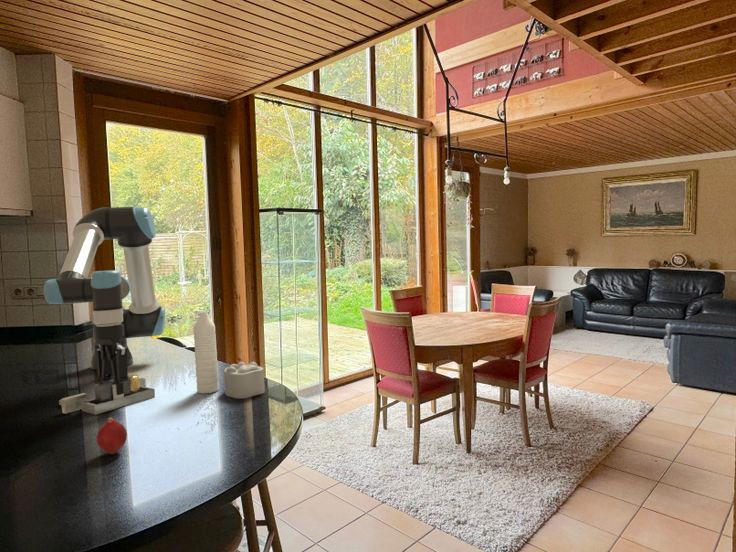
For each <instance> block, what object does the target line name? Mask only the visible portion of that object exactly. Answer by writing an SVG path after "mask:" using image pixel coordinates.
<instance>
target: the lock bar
mask: <svg viewBox="0 0 736 552" xmlns="http://www.w3.org/2000/svg"><path fill="white" fill-rule="evenodd" d="M139 379H140V376H139V374H130V375H129V374H128V380H127V381H125V382H123V391H124V397H125V396H128V395H132V394H135V393H139V392H140V387H139ZM112 383H114V380H113V379H111V381H107V382H103V381H102V382H99V383H96V384H94V395H95V396H94V397H95V398H96V404H100V403H103V402H107V401H110V400H113V388H112Z"/></svg>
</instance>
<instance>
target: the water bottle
mask: <svg viewBox="0 0 736 552" xmlns="http://www.w3.org/2000/svg"><path fill="white" fill-rule="evenodd" d="M195 314H196V315H199V317H198V319H197V320H196V322H195V324H194V325H193V342H194V344H193V345H194V359H195V361H194V362H195V375H196V376H195V377H196V392H197V393H198V394H202V395H203V394H212V393H216V392H217V391H219V389H220V386H219V376H218V375H219V369H218V368H219V367H218V366H219V365H218V358H217V356H218V352H217V339H216V338H217V337H216V336H217V335H216V334H217V333H216V325H215V323H214V322H213V321H212V319H211V318H210V316H209V314H208V311H205V310H204V309H198V310H195Z"/></svg>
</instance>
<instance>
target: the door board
mask: <svg viewBox="0 0 736 552" xmlns="http://www.w3.org/2000/svg"><path fill="white" fill-rule="evenodd" d="M139 387H140V392H139V393H135V394H132V395H128V396H125V397H121V398H118V399H114V400H110V401H107V402H103V403H100V404H96V397H95V398H92V399H89V400H88V394H87V393H86V392H85V393H84V392H82V393H79V394H75V395H71V396H66V397H63V398H60V400H58V403H59V404H58V405H61V406H60V407H61V412H62V413H61V414H64V415H65V414H70V413H74V412H77V411H80V409H81V411H82V412H84V413H88V414H92V415H95V416H97V415H99V414H104V413H105V412H106V413H107V412H108V411H113V410H116V409H119V408H122V407H126V406H129V405H133V404H136V403H139V402H142V401H146V400H149V399H152V398H153V399H154V398H156V395H155V392H156V390H155V388H153V387H147V385H146V378H144V377H141V378H140V377H139Z"/></svg>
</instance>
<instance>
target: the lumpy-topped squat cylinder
mask: <svg viewBox="0 0 736 552" xmlns="http://www.w3.org/2000/svg"><path fill="white" fill-rule="evenodd" d="M223 370H224V371H223V377H224V378H223V379H224V393H225V395H226V396H227V397H230V398H232V399H239V400H240V399H247V398H250V397H255V396H258V395H262V394H264V393H265V392H266V390H265V389H266V388H265V387H266V386H265V371H264V370H265V369H264V367H261V366H259V365H258V363H257V362H255V361H251V362H249V363H248V364H246V362H244V361H239V362H238V363H236V364H235V363H231V364H230V366H227V367H226V368H224V369H223Z"/></svg>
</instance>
